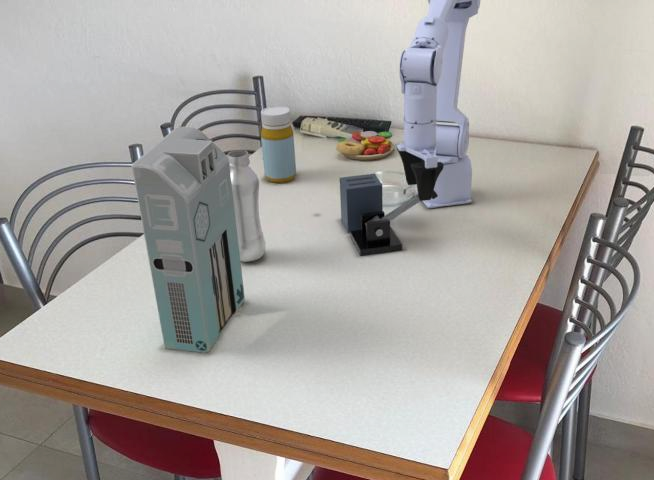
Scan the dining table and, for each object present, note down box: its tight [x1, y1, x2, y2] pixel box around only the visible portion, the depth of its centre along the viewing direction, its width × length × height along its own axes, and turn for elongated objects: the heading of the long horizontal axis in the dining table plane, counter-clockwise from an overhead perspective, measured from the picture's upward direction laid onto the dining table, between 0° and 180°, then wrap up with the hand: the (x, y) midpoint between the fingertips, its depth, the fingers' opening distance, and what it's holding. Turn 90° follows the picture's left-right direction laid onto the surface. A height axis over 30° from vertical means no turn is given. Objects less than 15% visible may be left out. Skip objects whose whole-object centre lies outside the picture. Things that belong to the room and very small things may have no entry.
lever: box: [365, 190, 438, 225], centre depth 161 cm, size 14×5×2 cm
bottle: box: [260, 105, 297, 184], centre depth 188 cm, size 7×7×15 cm
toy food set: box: [335, 130, 395, 161], centre depth 203 cm, size 13×13×3 cm
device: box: [131, 125, 246, 354], centre depth 133 cm, size 16×8×30 cm, turn 165°
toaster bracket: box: [349, 210, 403, 257], centre depth 162 cm, size 8×8×5 cm
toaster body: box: [339, 173, 384, 234], centre depth 168 cm, size 7×6×9 cm
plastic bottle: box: [227, 149, 266, 263], centre depth 155 cm, size 6×7×20 cm
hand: (419, 191), depth 160 cm, fingers open, 7 cm apart
